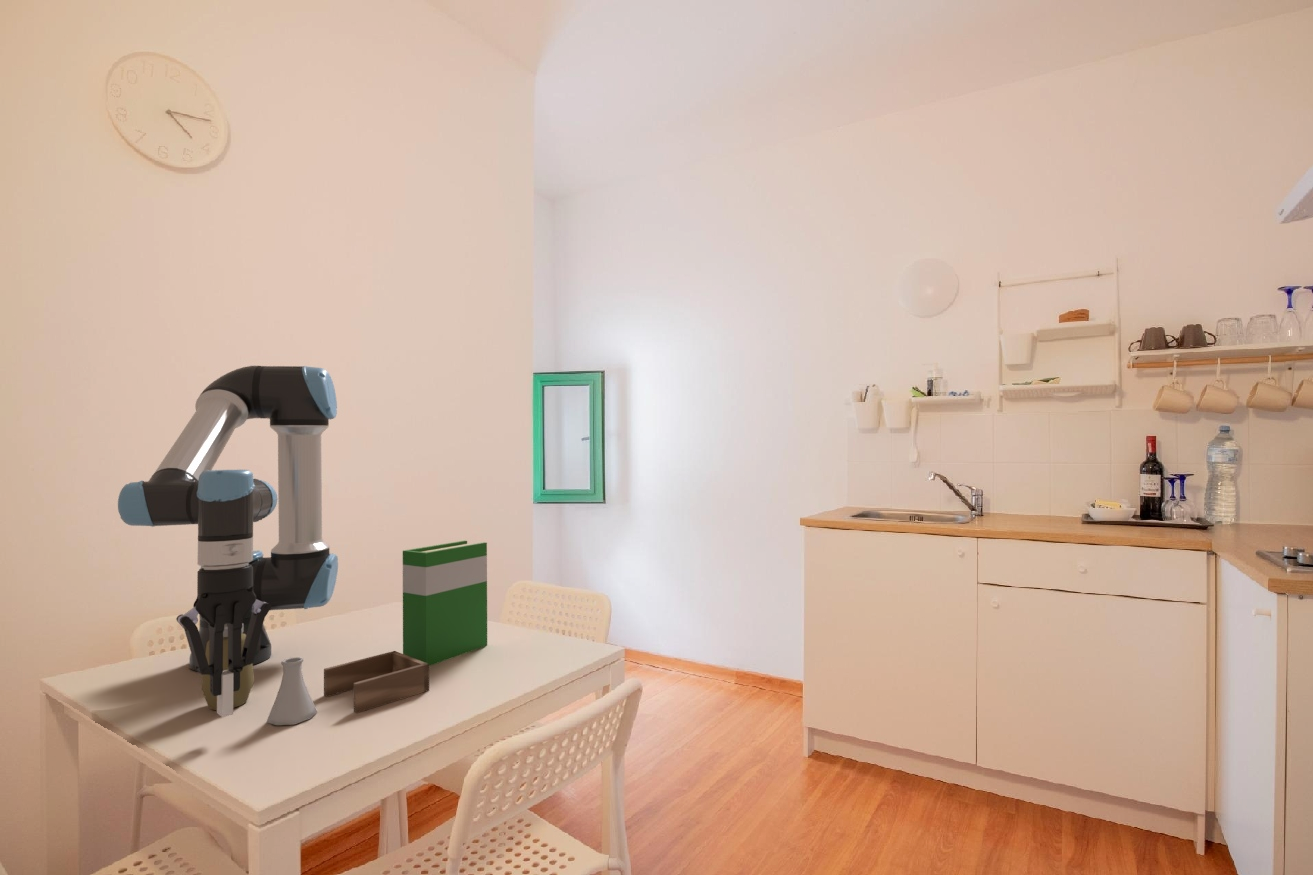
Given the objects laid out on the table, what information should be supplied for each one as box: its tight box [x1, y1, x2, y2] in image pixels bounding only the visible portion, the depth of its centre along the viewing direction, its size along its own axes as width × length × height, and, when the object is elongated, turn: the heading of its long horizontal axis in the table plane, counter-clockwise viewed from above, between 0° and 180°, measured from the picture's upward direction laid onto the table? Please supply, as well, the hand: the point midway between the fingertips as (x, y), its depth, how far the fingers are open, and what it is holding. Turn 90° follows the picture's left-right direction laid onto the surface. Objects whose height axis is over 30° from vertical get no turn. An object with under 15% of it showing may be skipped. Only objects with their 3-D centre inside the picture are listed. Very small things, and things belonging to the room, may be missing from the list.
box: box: [323, 650, 430, 714], centre depth 125 cm, size 13×14×5 cm
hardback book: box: [402, 540, 488, 667], centre depth 150 cm, size 18×7×24 cm, turn 149°
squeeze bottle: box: [200, 623, 255, 711], centre depth 120 cm, size 8×8×18 cm
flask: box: [266, 656, 318, 726], centre depth 114 cm, size 7×7×10 cm
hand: (225, 713), depth 106 cm, fingers closed
